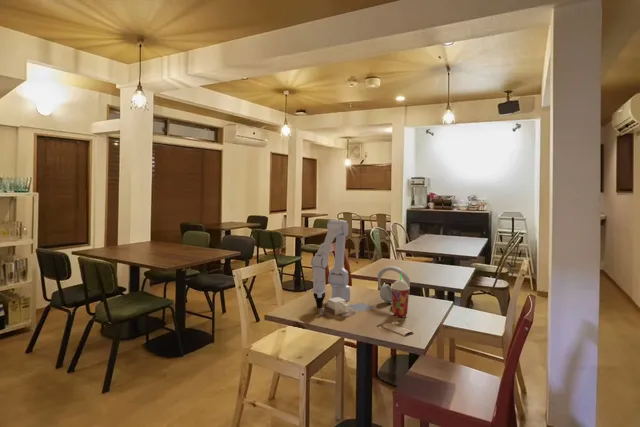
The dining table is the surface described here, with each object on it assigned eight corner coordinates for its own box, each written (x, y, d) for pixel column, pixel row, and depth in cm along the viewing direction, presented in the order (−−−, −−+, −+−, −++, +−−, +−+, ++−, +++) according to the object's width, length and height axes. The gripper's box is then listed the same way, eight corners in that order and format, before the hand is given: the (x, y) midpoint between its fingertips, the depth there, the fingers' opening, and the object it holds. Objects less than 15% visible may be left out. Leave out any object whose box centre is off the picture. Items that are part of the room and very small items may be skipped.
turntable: (341, 305, 199) (341, 297, 198) (363, 315, 183) (363, 307, 183) (311, 311, 189) (311, 303, 189) (330, 322, 174) (330, 314, 174)
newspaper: (365, 321, 178) (365, 317, 178) (376, 318, 183) (376, 314, 182) (404, 337, 159) (404, 333, 159) (415, 334, 164) (415, 329, 163)
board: (357, 302, 205) (357, 300, 205) (382, 312, 188) (382, 310, 188) (308, 312, 190) (308, 309, 190) (330, 324, 173) (330, 322, 173)
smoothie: (409, 313, 187) (410, 273, 186) (407, 319, 180) (408, 276, 178) (392, 311, 190) (393, 271, 189) (389, 317, 182) (390, 275, 181)
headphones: (374, 302, 205) (374, 265, 204) (381, 299, 211) (382, 263, 210) (405, 309, 193) (405, 270, 192) (412, 305, 199) (413, 267, 198)
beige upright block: (327, 311, 188) (327, 299, 187) (338, 308, 191) (338, 296, 191) (341, 318, 178) (341, 305, 177) (352, 315, 181) (352, 303, 181)
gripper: (311, 276, 192) (311, 303, 193) (311, 284, 178) (311, 313, 179) (325, 276, 192) (325, 303, 193) (326, 284, 178) (326, 313, 179)
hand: (319, 308), depth 186 cm, fingers closed
